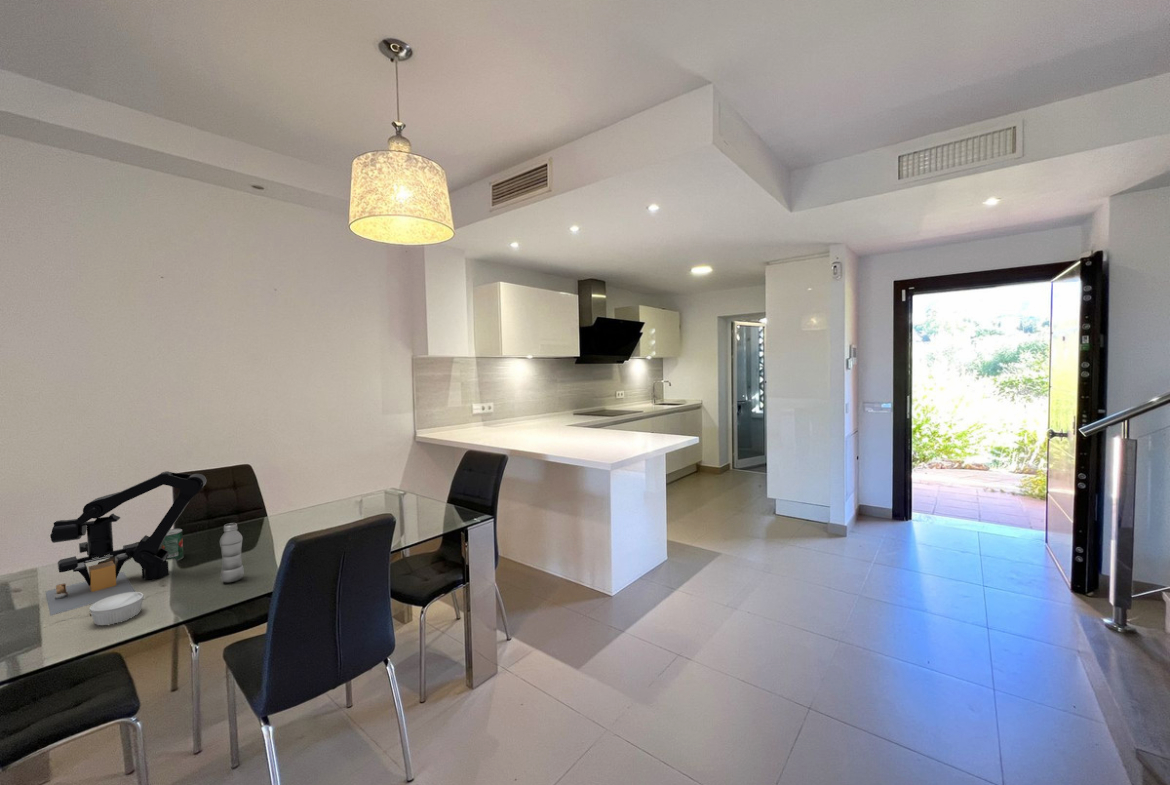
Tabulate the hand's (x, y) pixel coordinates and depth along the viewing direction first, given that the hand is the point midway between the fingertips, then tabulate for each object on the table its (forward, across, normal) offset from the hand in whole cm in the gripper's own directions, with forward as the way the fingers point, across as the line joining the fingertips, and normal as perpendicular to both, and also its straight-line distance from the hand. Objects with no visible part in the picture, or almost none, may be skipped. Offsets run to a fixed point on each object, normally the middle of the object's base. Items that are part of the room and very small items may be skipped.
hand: (102, 581), depth 150 cm
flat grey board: (+3, +3, +2) cm, 5 cm away
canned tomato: (+3, -19, -15) cm, 25 cm away
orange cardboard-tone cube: (+2, 0, 0) cm, 2 cm away
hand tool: (+4, -8, -29) cm, 31 cm away
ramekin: (+3, 0, +28) cm, 28 cm away
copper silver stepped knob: (+2, +9, 0) cm, 9 cm away
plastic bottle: (+3, -29, +26) cm, 39 cm away
